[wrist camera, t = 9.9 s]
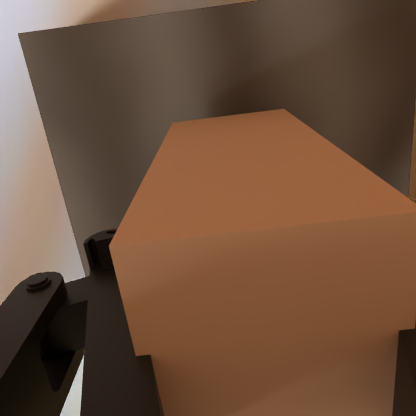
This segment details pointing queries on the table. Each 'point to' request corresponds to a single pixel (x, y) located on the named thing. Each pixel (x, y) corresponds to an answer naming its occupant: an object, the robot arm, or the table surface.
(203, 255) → the carton
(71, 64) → the display podium
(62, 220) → the table surface
